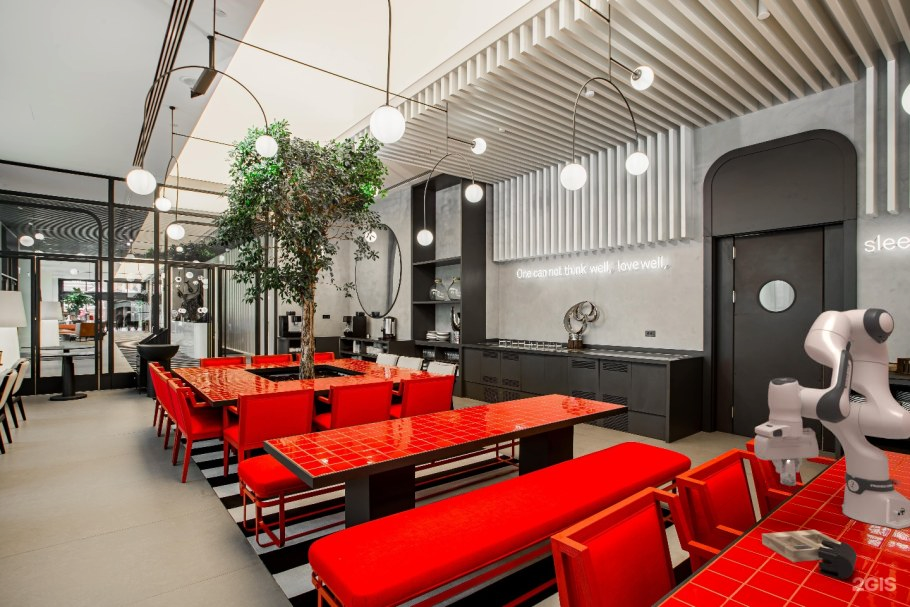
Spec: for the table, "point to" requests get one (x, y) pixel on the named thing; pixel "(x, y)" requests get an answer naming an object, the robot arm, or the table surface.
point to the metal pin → (788, 472)
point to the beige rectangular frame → (797, 544)
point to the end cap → (837, 559)
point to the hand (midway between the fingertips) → (787, 472)
